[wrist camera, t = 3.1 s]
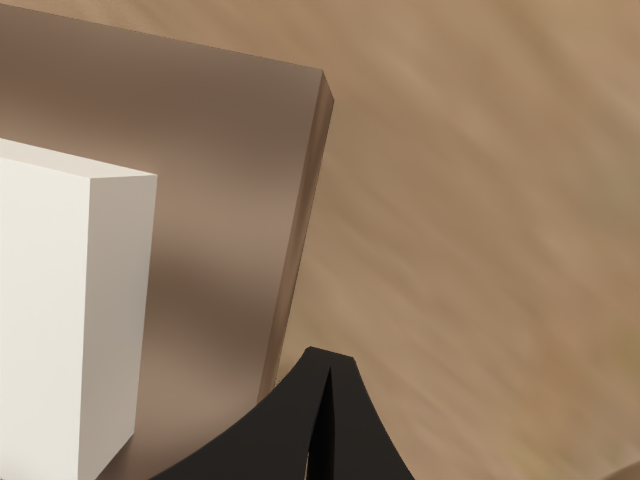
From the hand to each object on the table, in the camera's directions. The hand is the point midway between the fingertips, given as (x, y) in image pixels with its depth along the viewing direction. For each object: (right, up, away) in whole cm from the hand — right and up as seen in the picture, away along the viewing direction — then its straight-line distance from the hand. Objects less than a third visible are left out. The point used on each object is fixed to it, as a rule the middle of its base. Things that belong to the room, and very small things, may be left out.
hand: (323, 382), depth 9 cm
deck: (-9, +3, +5) cm, 11 cm away
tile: (-8, +2, +1) cm, 9 cm away
